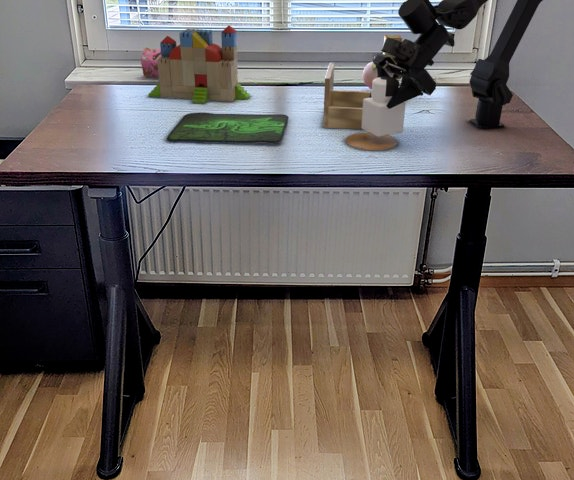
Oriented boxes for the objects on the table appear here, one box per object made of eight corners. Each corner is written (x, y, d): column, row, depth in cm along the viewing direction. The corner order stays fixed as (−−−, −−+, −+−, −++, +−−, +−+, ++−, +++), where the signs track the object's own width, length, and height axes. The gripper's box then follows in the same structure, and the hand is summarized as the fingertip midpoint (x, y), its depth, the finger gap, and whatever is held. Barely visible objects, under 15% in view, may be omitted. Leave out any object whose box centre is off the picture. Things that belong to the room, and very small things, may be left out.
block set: (144, 100, 178) (136, 27, 168) (161, 88, 190) (155, 19, 180) (241, 106, 174) (239, 31, 164) (253, 93, 186) (251, 22, 176)
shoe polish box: (382, 77, 203) (386, 38, 197) (381, 74, 207) (384, 35, 201) (398, 78, 203) (402, 38, 197) (396, 74, 207) (400, 35, 201)
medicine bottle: (386, 124, 153) (390, 73, 147) (403, 133, 147) (408, 80, 141) (360, 128, 150) (364, 76, 144) (377, 137, 145) (381, 83, 138)
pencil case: (212, 75, 204) (210, 46, 200) (207, 82, 196) (206, 52, 192) (146, 73, 205) (143, 45, 201) (139, 80, 197) (136, 51, 193)
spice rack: (370, 110, 172) (374, 64, 165) (369, 129, 157) (373, 80, 151) (328, 108, 173) (330, 62, 167) (323, 127, 158) (324, 78, 152)
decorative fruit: (365, 87, 192) (367, 53, 187) (391, 89, 190) (395, 55, 185) (358, 95, 185) (360, 59, 180) (386, 97, 183) (389, 61, 177)
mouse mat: (164, 141, 148) (163, 137, 147) (185, 114, 166) (185, 110, 166) (281, 145, 146) (281, 141, 145) (289, 117, 164) (289, 113, 164)
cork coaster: (405, 148, 145) (405, 146, 145) (356, 152, 143) (356, 150, 142) (385, 132, 155) (385, 130, 155) (338, 136, 153) (338, 134, 152)
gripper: (382, 16, 145) (338, 71, 147) (431, 30, 131) (381, 90, 132) (408, 50, 152) (365, 101, 154) (457, 66, 138) (409, 122, 139)
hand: (378, 103), depth 145 cm, fingers closed on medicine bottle, 7 cm apart
